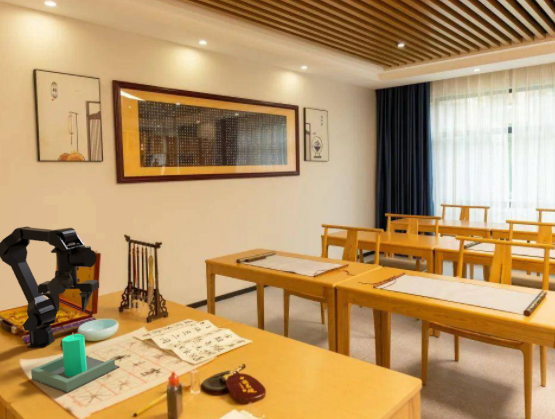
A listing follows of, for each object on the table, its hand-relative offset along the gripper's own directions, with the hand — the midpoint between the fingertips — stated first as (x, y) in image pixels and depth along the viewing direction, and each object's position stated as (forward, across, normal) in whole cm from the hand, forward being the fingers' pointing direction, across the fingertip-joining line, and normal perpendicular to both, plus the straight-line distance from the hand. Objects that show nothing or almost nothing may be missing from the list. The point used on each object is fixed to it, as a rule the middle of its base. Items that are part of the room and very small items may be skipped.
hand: (70, 311), depth 146 cm
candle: (+13, +11, -18) cm, 24 cm away
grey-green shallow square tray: (+13, +11, -18) cm, 25 cm away
